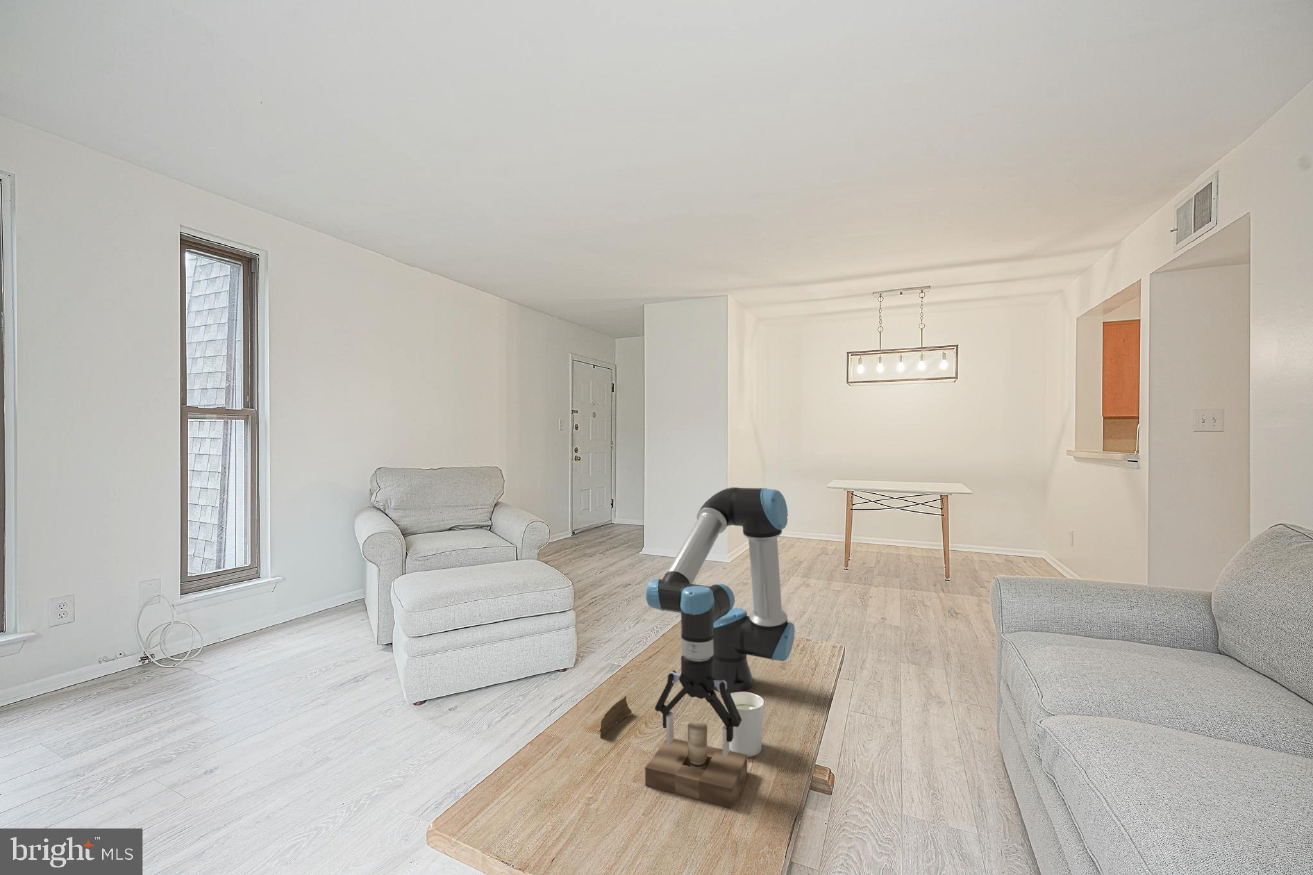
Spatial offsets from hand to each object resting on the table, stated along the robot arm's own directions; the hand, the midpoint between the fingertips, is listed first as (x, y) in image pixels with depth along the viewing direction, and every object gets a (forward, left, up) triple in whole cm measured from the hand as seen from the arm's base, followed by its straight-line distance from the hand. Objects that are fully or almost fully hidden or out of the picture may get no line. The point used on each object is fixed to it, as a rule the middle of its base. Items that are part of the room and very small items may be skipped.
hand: (697, 748), depth 127 cm
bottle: (0, 0, -7) cm, 7 cm away
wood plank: (-14, -28, -7) cm, 33 cm away
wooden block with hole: (0, 0, -7) cm, 7 cm away
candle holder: (-17, +7, -7) cm, 20 cm away
